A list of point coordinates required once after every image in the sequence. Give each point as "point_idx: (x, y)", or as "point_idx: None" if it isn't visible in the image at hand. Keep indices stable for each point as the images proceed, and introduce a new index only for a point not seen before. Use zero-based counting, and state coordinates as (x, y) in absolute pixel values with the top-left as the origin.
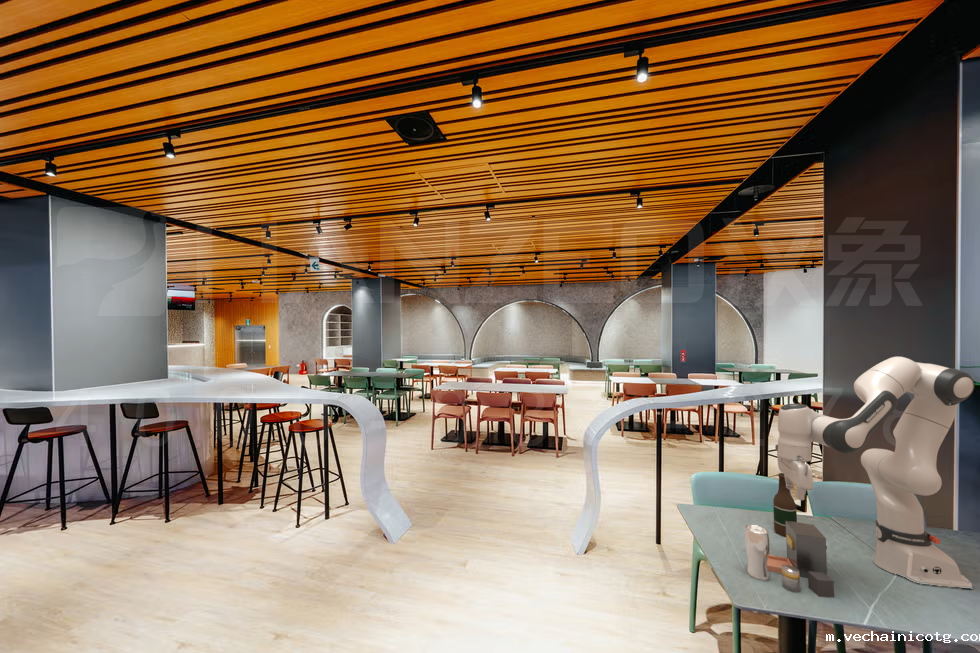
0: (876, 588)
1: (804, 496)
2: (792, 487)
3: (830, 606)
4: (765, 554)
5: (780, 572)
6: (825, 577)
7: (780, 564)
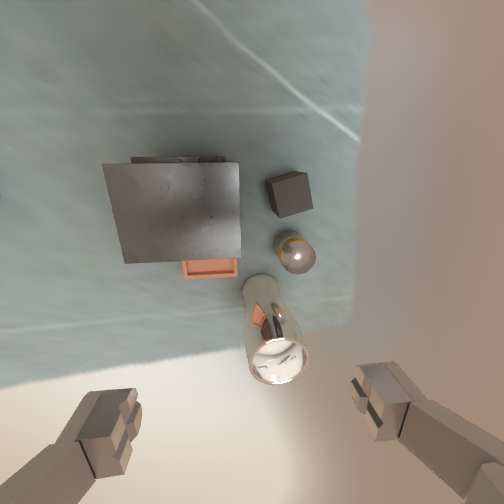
0: (211, 36)
1: (414, 384)
2: (124, 409)
3: (330, 191)
4: (290, 310)
5: None
6: (295, 186)
7: None
